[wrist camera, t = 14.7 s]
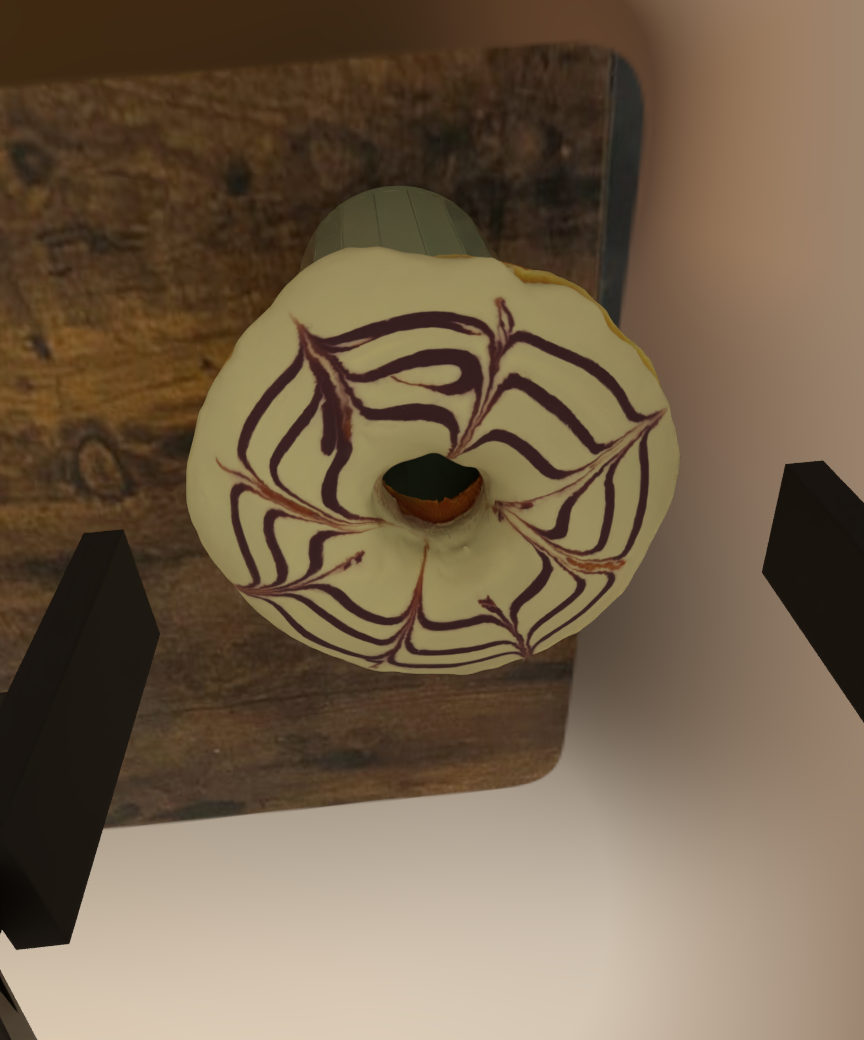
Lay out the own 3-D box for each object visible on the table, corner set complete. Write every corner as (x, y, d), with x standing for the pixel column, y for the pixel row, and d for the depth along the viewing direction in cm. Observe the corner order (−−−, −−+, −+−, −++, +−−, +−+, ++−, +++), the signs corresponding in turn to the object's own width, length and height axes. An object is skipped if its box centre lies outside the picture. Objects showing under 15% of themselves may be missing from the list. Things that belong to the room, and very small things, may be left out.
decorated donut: (253, 155, 16) (232, 197, 13) (712, 303, 19) (787, 368, 16) (175, 560, 21) (147, 660, 18) (542, 631, 24) (572, 728, 21)
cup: (494, 176, 28) (578, 285, 18) (498, 371, 32) (567, 547, 22) (283, 195, 28) (250, 317, 18) (314, 390, 32) (302, 576, 22)
